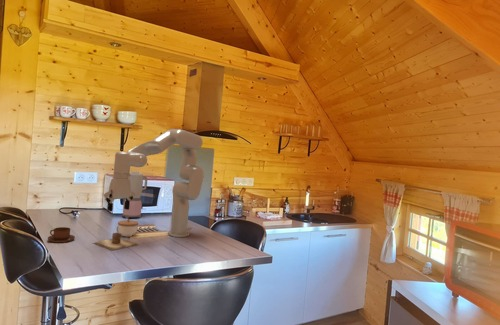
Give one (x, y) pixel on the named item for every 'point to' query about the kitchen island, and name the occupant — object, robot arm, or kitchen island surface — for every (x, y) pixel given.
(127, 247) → the rubber mat
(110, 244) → the birch lid
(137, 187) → the blender
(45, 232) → the kitchen island surface
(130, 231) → the lidded jar
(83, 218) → the kitchen island surface
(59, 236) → the cup and saucer
